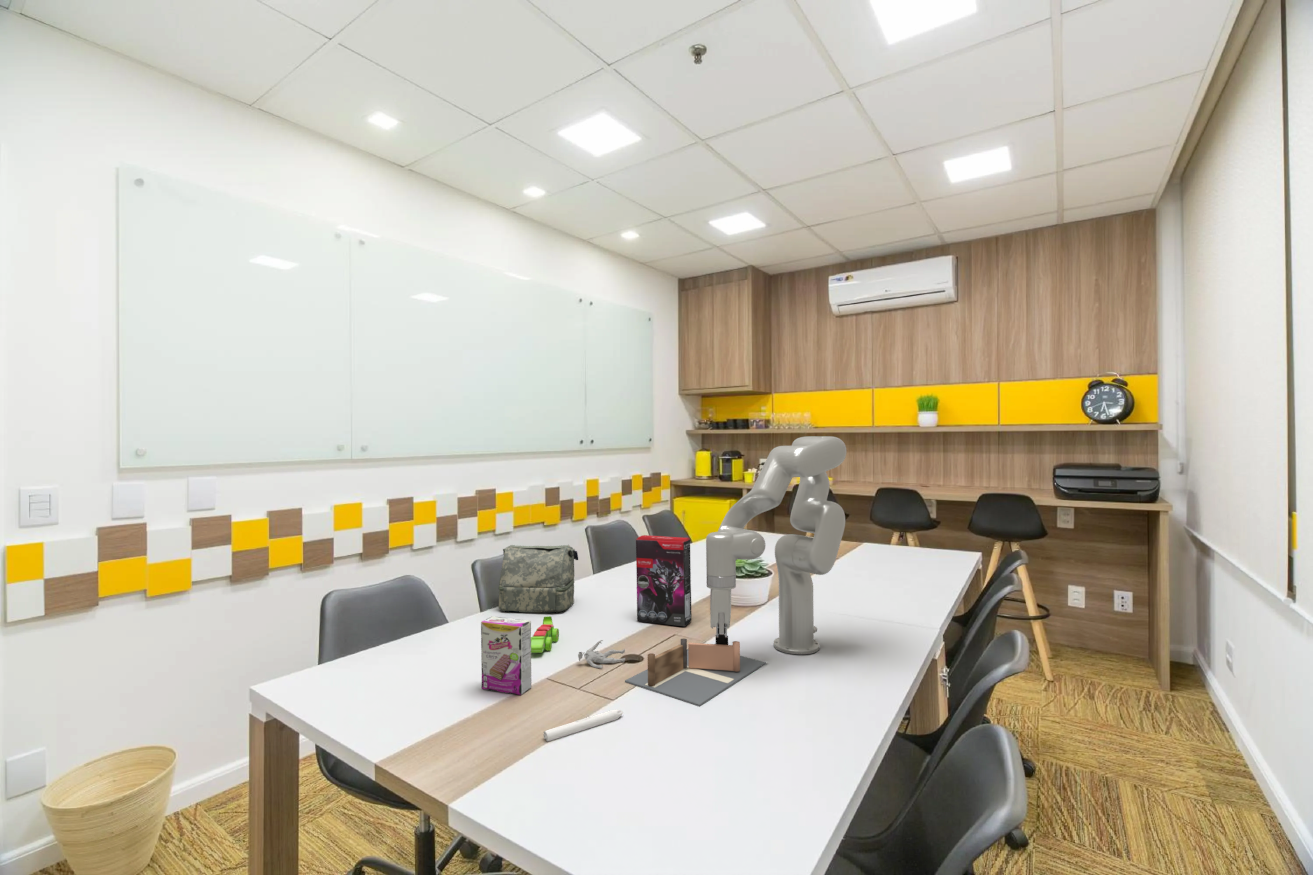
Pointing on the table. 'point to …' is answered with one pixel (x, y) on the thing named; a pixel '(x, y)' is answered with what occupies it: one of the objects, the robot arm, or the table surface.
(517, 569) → the lunch bag
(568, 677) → the table surface
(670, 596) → the graphics card box
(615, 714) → the marker
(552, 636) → the toy crocodile
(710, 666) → the fence swing section
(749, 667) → the mat
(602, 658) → the soldier figure
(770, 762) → the table surface
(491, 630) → the candy bar box
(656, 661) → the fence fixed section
